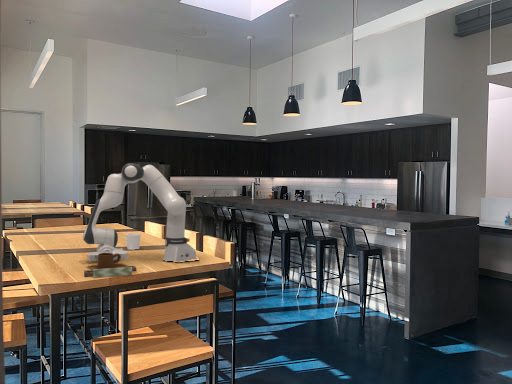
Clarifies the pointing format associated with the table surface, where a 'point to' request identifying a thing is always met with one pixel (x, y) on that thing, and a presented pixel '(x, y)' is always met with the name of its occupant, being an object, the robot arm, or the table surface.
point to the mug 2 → (132, 241)
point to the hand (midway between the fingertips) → (109, 258)
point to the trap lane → (109, 272)
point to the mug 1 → (107, 260)
